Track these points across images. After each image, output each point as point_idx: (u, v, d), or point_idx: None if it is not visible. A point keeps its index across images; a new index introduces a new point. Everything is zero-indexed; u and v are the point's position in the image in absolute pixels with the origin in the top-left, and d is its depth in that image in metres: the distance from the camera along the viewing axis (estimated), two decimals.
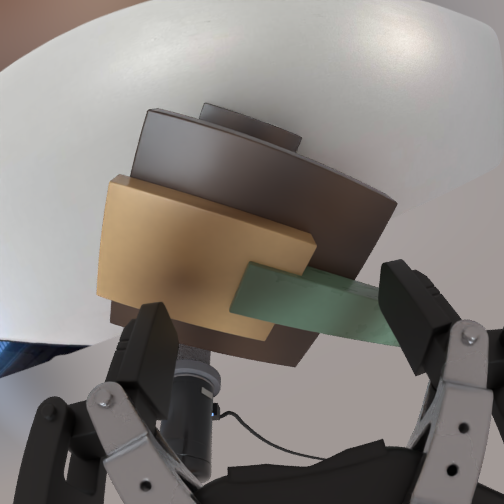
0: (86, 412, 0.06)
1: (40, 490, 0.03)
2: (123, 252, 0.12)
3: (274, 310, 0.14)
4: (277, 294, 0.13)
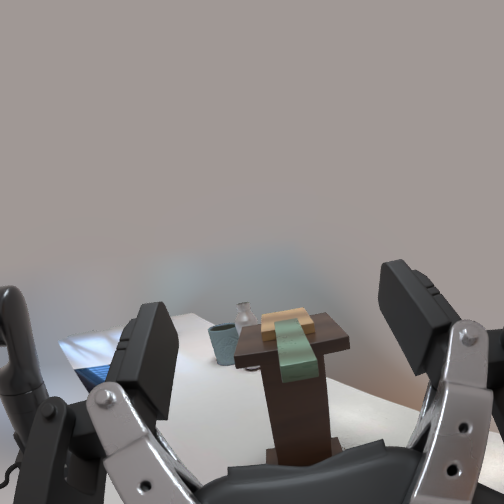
0: (86, 412, 0.06)
1: (41, 490, 0.03)
2: (283, 312, 0.40)
3: (281, 324, 0.32)
4: (289, 322, 0.33)
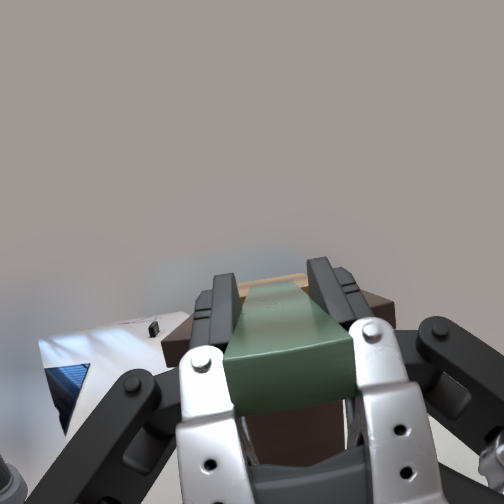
0: (173, 382, 0.07)
1: (90, 464, 0.04)
2: (269, 279, 0.25)
3: (261, 287, 0.18)
4: (276, 284, 0.18)
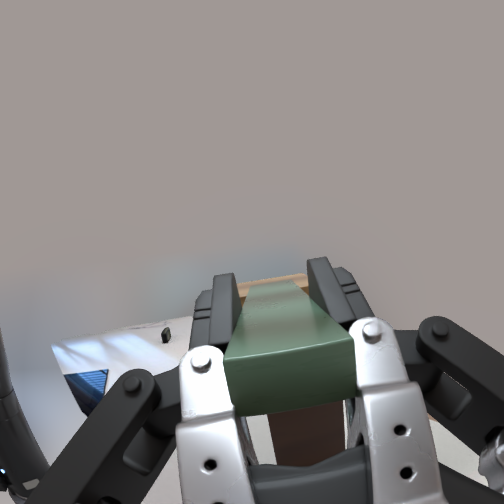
0: (173, 382, 0.07)
1: (90, 464, 0.04)
2: (269, 279, 0.25)
3: (261, 287, 0.18)
4: (276, 284, 0.18)
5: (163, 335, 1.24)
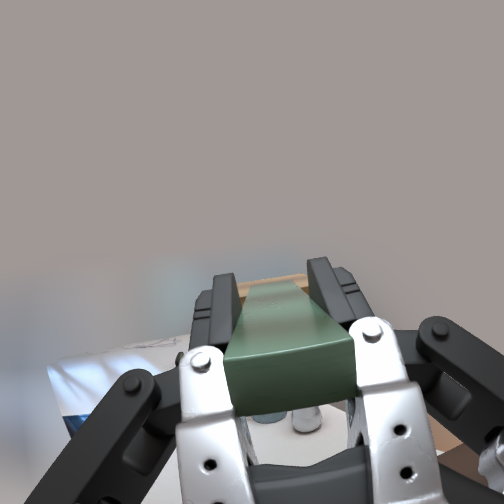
0: (173, 382, 0.07)
1: (90, 464, 0.04)
2: (269, 279, 0.25)
3: (261, 287, 0.18)
4: (276, 284, 0.18)
5: (178, 363, 1.04)
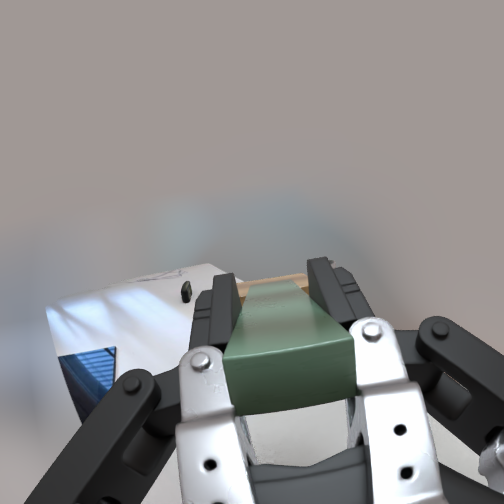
0: (173, 382, 0.07)
1: (90, 464, 0.04)
2: (269, 279, 0.25)
3: (261, 286, 0.18)
4: (276, 284, 0.18)
5: (184, 293, 1.02)
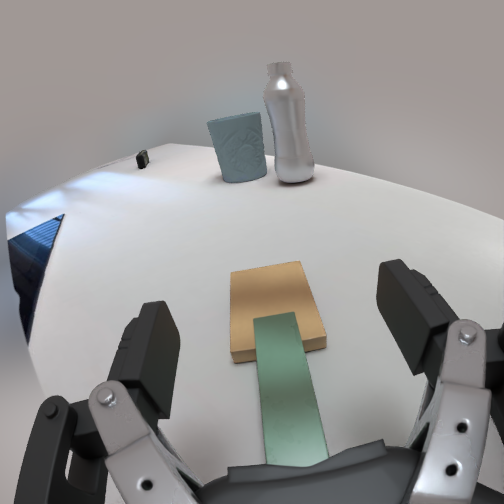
0: (88, 411, 0.06)
1: (42, 489, 0.03)
2: (266, 274, 0.24)
3: (267, 336, 0.18)
4: (281, 331, 0.18)
5: (139, 158, 0.88)
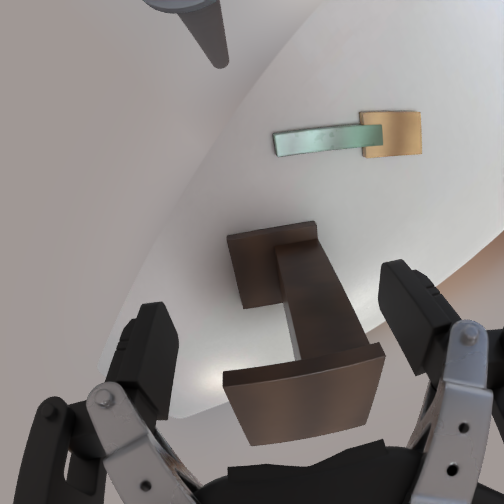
0: (86, 412, 0.06)
1: (41, 490, 0.03)
2: (414, 133, 0.33)
3: (369, 131, 0.32)
4: (371, 138, 0.33)
5: None
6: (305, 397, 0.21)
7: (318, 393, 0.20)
